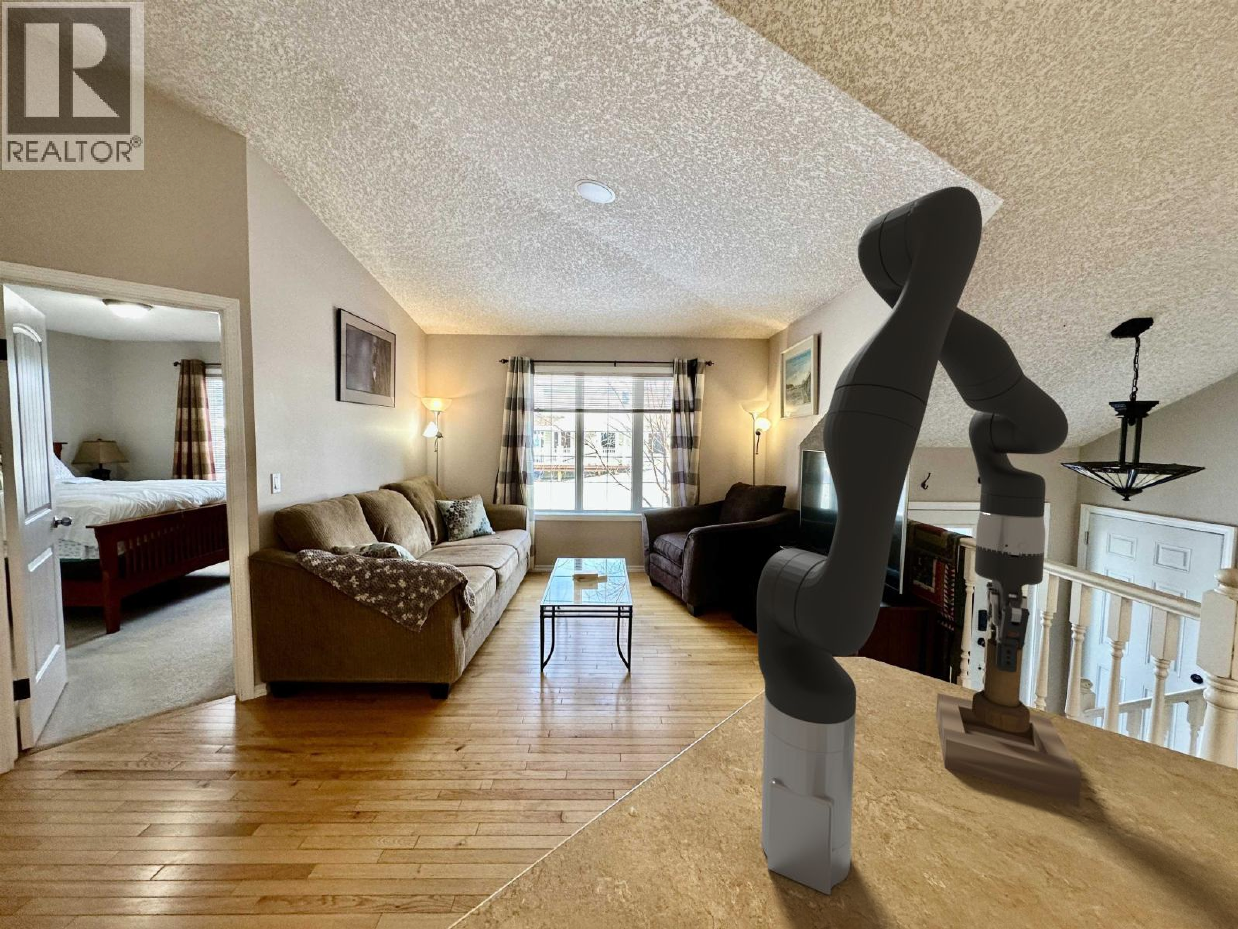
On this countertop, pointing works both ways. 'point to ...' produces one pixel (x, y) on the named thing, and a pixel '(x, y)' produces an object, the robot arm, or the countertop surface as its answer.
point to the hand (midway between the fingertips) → (1002, 663)
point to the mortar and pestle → (1001, 694)
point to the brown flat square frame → (1007, 752)
